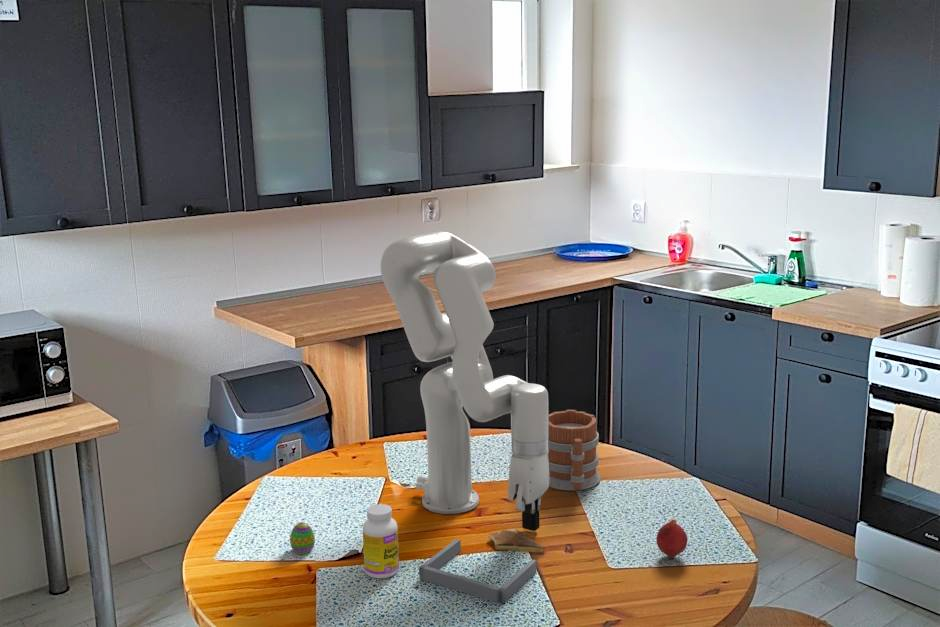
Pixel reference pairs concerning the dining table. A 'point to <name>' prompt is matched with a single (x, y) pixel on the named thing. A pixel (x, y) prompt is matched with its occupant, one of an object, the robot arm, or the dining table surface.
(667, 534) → the onion
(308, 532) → the egg
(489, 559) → the dining table surface
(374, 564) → the supplement bottle
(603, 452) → the dining table surface
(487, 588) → the slate bay
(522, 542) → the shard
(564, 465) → the mug
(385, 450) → the dining table surface
